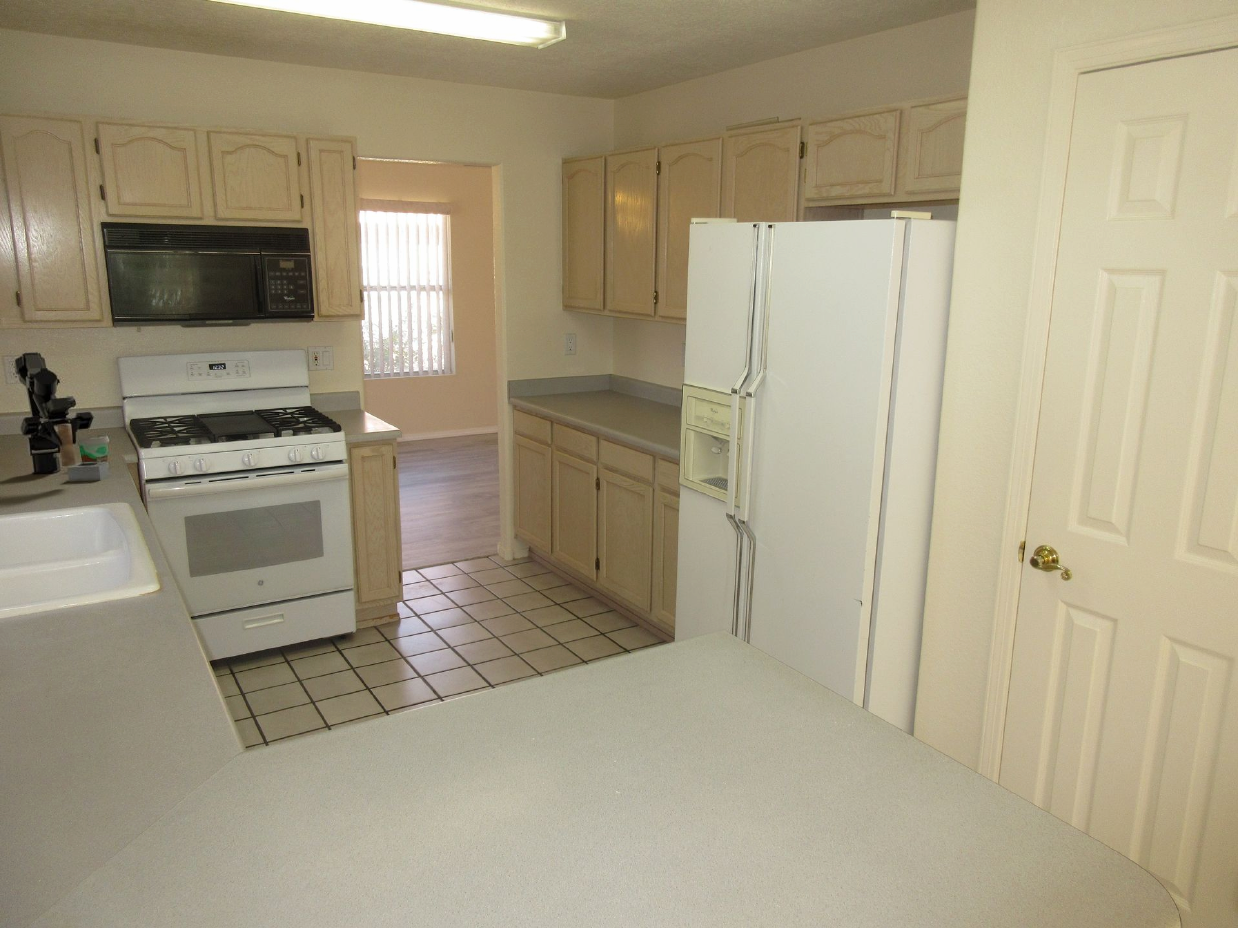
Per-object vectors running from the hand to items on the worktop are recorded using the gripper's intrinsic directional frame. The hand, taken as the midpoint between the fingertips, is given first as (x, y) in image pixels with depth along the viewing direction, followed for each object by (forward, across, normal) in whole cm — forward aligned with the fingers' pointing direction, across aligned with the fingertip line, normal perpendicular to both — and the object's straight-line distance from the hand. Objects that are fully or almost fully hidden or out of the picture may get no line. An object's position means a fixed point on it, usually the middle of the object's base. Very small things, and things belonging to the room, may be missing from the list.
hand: (68, 444), depth 265 cm
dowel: (+4, 0, +6) cm, 7 cm away
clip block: (+3, +9, +16) cm, 18 cm away
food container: (-12, +21, +31) cm, 40 cm away
